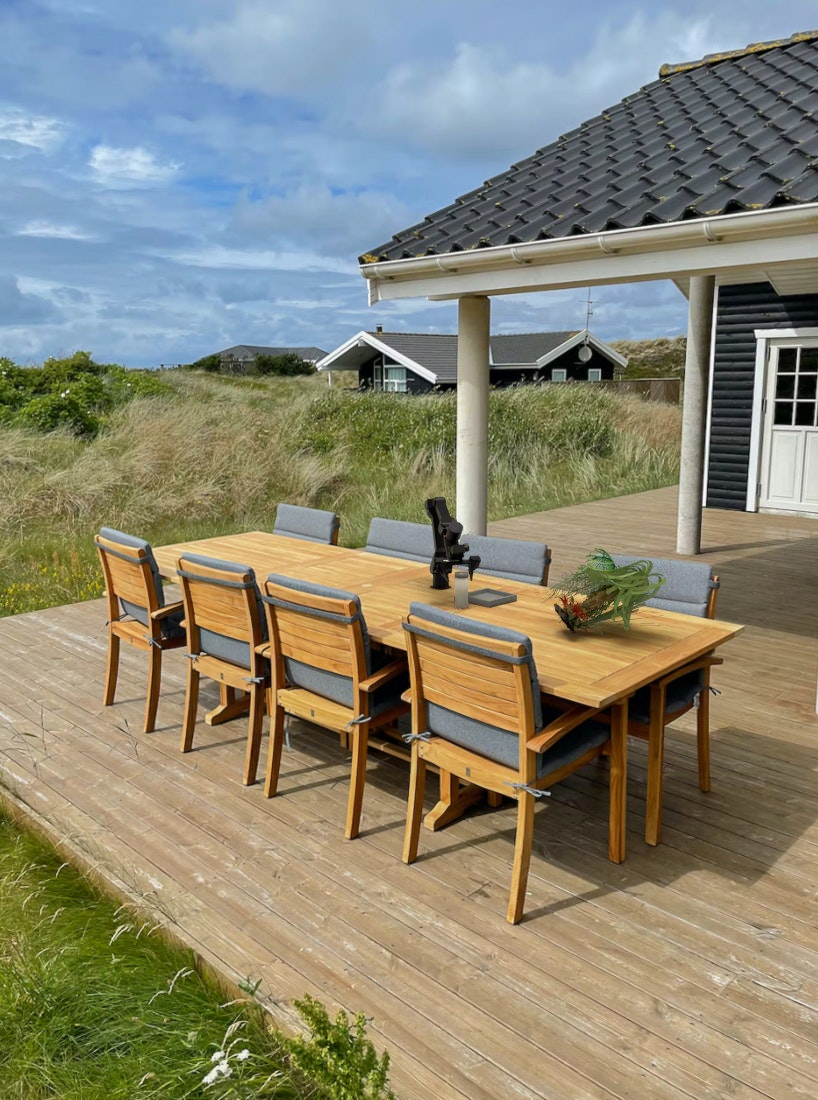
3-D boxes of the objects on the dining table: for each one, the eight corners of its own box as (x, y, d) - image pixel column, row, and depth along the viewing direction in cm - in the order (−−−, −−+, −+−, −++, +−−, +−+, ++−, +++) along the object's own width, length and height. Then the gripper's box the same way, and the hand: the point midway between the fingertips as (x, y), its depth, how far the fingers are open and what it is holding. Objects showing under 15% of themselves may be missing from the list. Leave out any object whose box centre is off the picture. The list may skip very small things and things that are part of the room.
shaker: (451, 607, 332) (451, 572, 330) (461, 604, 336) (461, 570, 333) (461, 609, 328) (461, 575, 326) (471, 607, 332) (471, 572, 329)
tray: (459, 600, 342) (459, 594, 342) (487, 593, 353) (487, 587, 352) (489, 607, 331) (489, 601, 330) (516, 600, 341) (516, 594, 341)
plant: (534, 594, 318) (632, 544, 316) (580, 678, 303) (683, 626, 302) (524, 562, 286) (633, 507, 284) (575, 654, 272) (690, 596, 270)
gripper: (433, 537, 332) (440, 570, 324) (479, 535, 336) (487, 568, 328) (428, 553, 341) (435, 586, 333) (474, 551, 345) (481, 584, 337)
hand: (460, 581), depth 332 cm, fingers open, 9 cm apart
